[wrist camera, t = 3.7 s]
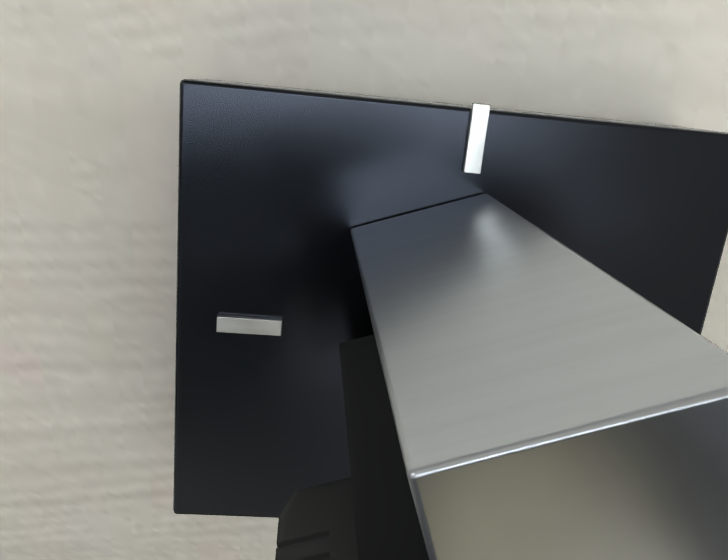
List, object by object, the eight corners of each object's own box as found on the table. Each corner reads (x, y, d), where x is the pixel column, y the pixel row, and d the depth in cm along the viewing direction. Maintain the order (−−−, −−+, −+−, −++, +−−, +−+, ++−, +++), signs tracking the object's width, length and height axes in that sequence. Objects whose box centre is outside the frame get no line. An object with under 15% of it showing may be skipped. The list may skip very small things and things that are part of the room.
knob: (349, 228, 14) (410, 492, 5) (487, 192, 14) (795, 393, 5) (412, 465, 16) (537, 969, 7) (533, 434, 16) (818, 898, 7)
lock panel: (194, 450, 18) (170, 522, 15) (204, 74, 16) (177, 73, 12) (600, 469, 20) (652, 540, 17) (680, 122, 17) (761, 131, 14)
